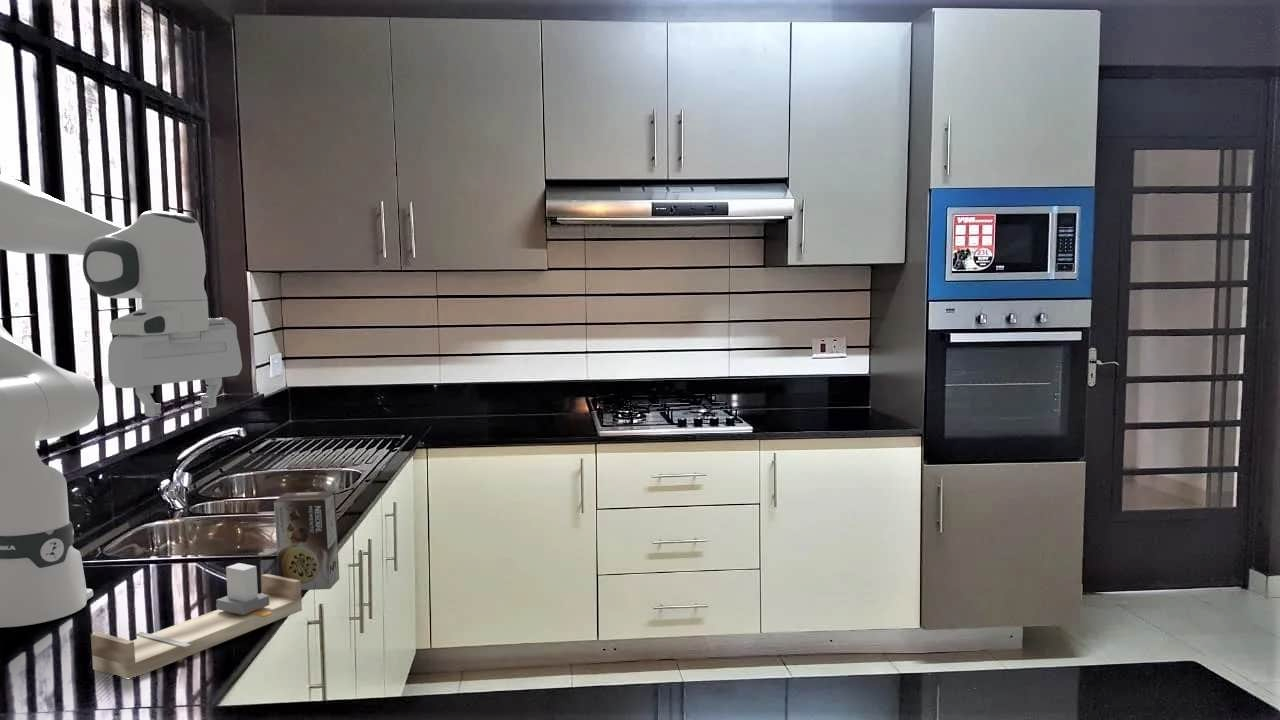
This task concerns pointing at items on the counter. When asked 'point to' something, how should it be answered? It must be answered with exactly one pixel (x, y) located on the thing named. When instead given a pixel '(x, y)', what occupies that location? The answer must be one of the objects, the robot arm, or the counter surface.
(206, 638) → the fader track
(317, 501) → the coffee box
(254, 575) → the fader tab
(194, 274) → the robot arm
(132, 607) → the counter surface
